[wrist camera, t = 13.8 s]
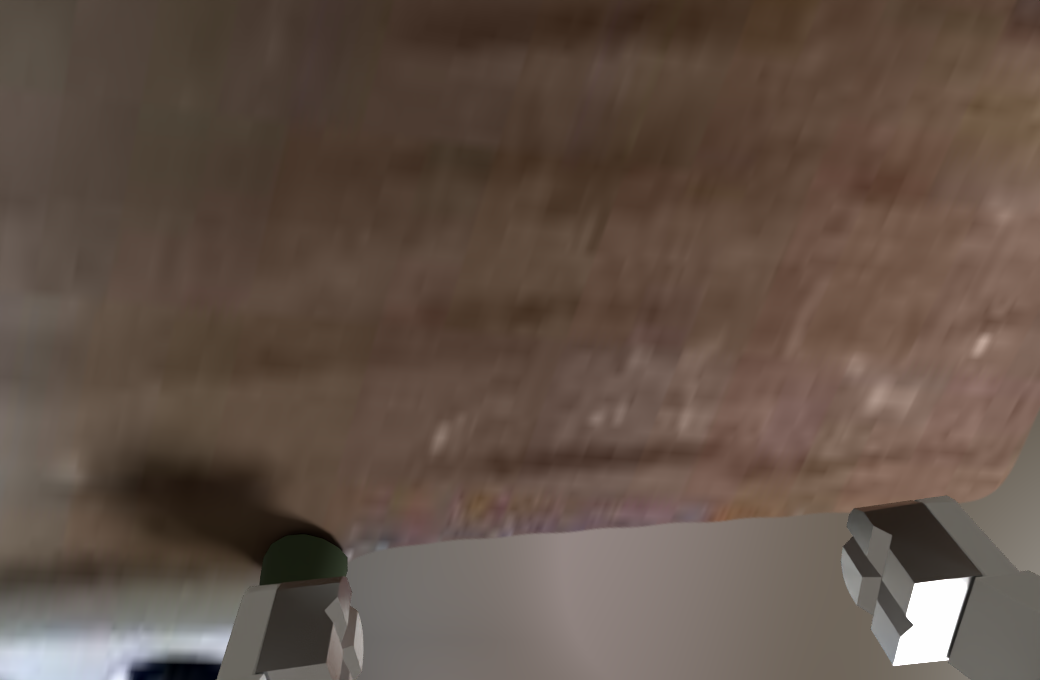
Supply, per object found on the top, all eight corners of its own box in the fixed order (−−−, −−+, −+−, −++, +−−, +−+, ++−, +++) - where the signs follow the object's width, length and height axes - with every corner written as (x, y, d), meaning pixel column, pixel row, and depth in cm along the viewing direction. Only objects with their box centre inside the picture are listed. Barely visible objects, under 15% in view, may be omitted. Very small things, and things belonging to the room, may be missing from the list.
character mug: (283, 612, 58) (244, 775, 47) (220, 561, 55) (162, 724, 44) (393, 553, 56) (379, 710, 45) (334, 497, 53) (303, 650, 42)
